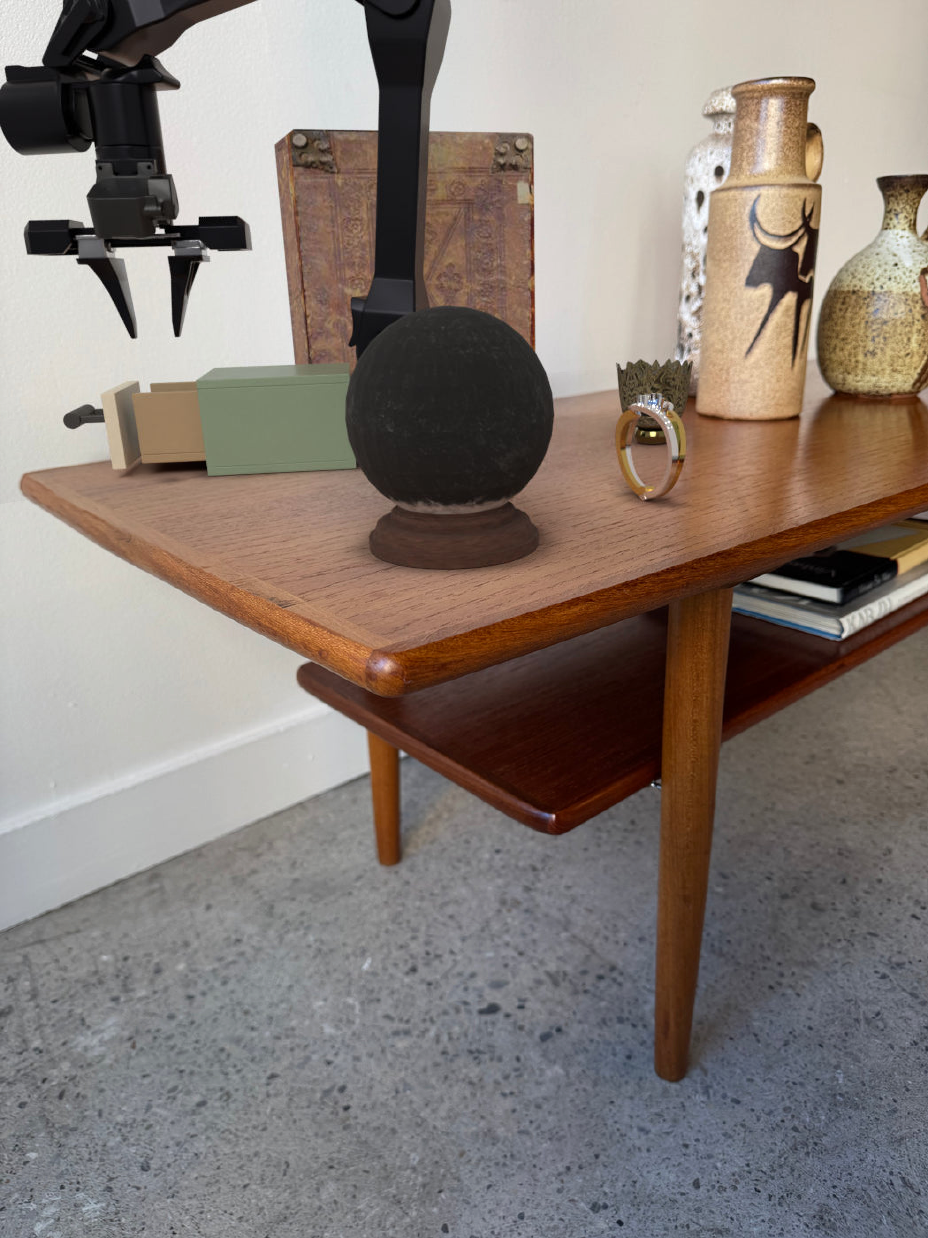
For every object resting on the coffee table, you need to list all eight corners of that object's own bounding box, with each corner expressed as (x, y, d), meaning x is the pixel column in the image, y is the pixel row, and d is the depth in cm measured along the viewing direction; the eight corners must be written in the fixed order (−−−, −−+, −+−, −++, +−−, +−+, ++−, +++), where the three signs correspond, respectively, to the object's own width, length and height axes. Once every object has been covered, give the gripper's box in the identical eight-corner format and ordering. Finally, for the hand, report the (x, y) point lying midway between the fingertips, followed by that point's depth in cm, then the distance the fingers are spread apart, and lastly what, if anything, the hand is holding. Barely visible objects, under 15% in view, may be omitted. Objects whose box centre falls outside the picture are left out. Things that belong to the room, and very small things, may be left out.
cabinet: (207, 476, 84) (195, 380, 81) (223, 453, 95) (213, 367, 92) (356, 468, 86) (349, 373, 83) (355, 446, 97) (349, 362, 94)
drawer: (64, 472, 83) (50, 395, 81) (93, 451, 93) (82, 382, 91) (252, 462, 85) (243, 387, 83) (261, 443, 95) (254, 375, 92)
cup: (643, 433, 99) (645, 356, 96) (703, 439, 94) (707, 359, 91) (600, 444, 94) (601, 363, 92) (661, 451, 89) (664, 366, 86)
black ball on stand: (469, 509, 70) (463, 300, 65) (595, 543, 60) (600, 301, 55) (317, 543, 62) (296, 309, 57) (434, 588, 53) (422, 312, 47)
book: (506, 417, 113) (502, 144, 102) (536, 427, 105) (536, 132, 94) (300, 434, 105) (273, 141, 95) (315, 447, 97) (288, 127, 87)
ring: (605, 493, 74) (608, 390, 71) (639, 488, 75) (643, 387, 72) (654, 511, 68) (659, 400, 65) (691, 506, 69) (697, 397, 66)
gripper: (-17, 138, 71) (22, 347, 77) (228, 135, 73) (249, 339, 79) (29, 155, 82) (61, 339, 87) (243, 152, 84) (261, 332, 89)
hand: (156, 337), depth 85 cm, fingers open, 4 cm apart
